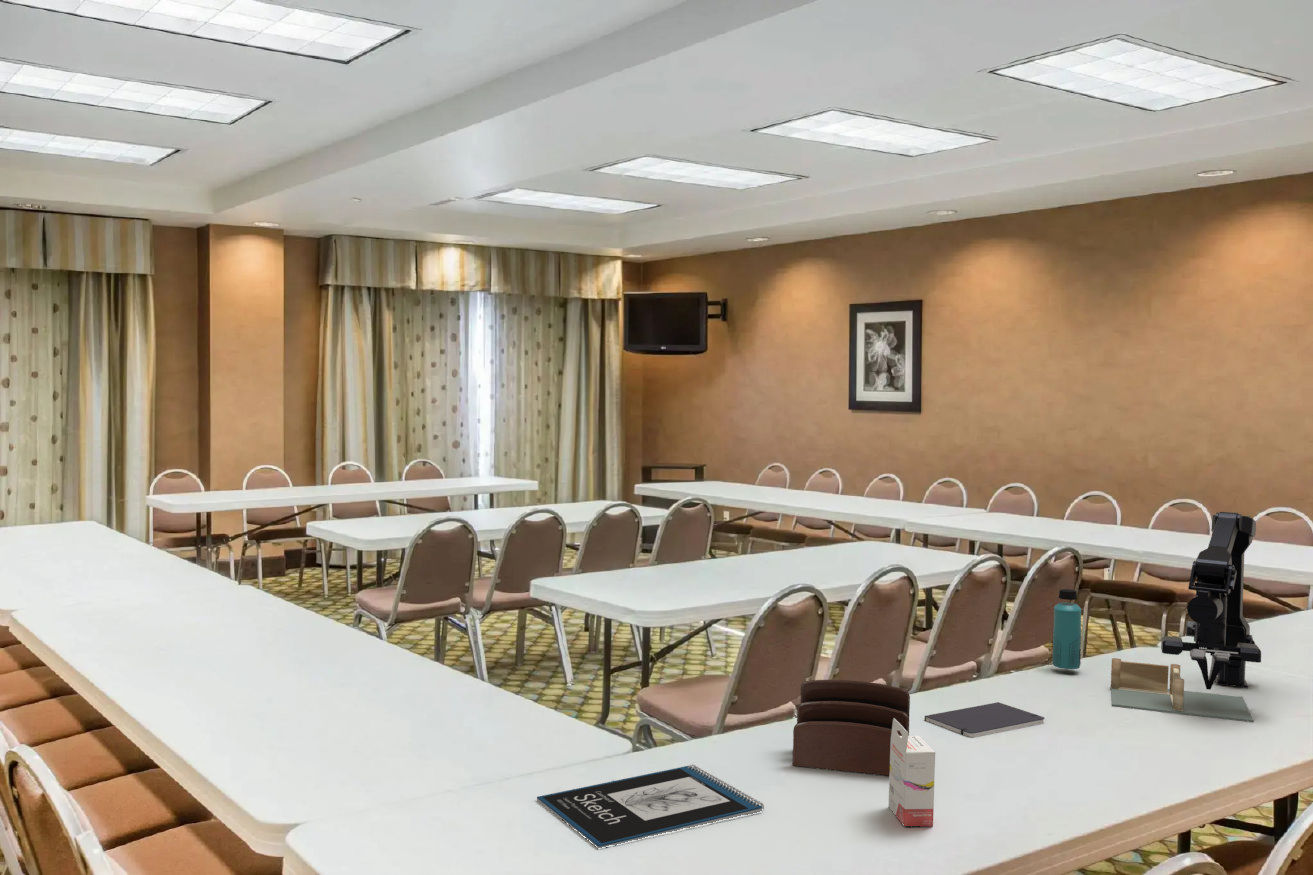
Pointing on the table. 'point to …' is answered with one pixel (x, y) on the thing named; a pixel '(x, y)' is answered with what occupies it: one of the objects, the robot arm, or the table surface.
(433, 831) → the table surface
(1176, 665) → the fixed fence
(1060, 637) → the beverage bottle
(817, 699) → the letter holder
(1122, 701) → the board
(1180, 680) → the hinged panel
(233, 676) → the table surface
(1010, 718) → the notebook
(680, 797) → the sketchbook
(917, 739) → the ink cartridge box
